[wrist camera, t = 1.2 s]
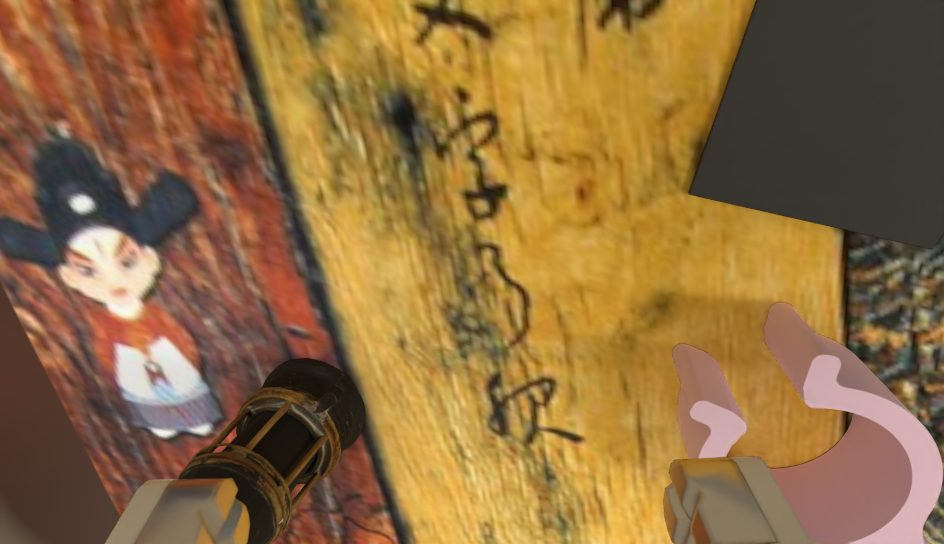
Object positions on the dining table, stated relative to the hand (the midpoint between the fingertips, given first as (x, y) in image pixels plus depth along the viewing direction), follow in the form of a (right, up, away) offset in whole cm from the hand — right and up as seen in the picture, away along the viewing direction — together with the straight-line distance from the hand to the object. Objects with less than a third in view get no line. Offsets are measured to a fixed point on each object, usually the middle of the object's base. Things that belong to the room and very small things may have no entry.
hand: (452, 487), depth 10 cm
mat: (+22, +14, +19) cm, 32 cm away
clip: (+23, -8, +27) cm, 36 cm away
